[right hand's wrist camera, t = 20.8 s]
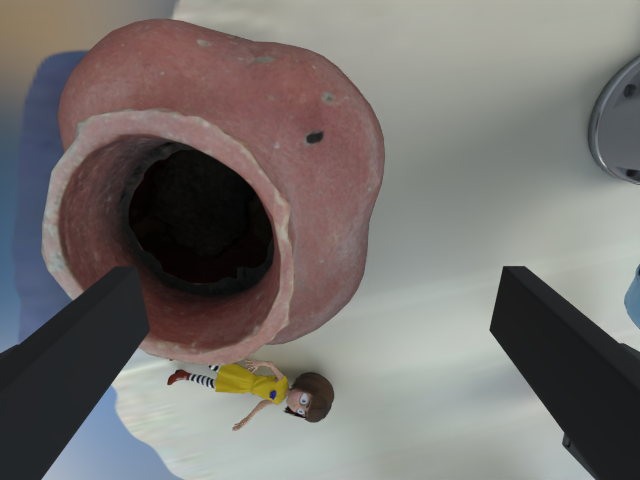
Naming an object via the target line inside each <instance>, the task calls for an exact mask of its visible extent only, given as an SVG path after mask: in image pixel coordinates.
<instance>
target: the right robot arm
mask: <svg viewBox="0 0 640 480" xmlns="http://www.w3.org/2000/svg"><path fill="white" fill-rule="evenodd" d="M589 145H590V149H591V153H592V155H593V157H594V159H595V161H596V163H597V164H598V165H599V166H600V167H601V169H602V170H604V171H605V172H606V173H608V174H609V175H611V176H613V177H616V178H619V179H622V180H626V181H630V182H635V183H640V56H638V57H637V58H635V59H634V60H632V61H631V62H629V63H628V64H627V65H626V66H625V67H623V68H622V69H621V70H620V71H619V72H618V73H617V74H616V75H615V76H614V77H613V78H612V80H611V81H610V82H609V83H608V85H607V86H606V87H605V89H604V90H603V92H602V93H601V95H600V97H599V99H598V101H597V103H596V105H595V107H594V110H593V113H592V116H591V120H590V125H589ZM630 182H629V183H630ZM635 183H633V184H635ZM637 185H640V184H637ZM624 304H625V307H626V309H627V313H628V315H629V317H630V318H631V320H632V321H633V322H634V323H635V325H636V326H637V327H638V328H639V329H640V265H639V266H638V267H637V269H636V276H635V278H634V280H633V282H632V284H631V285H630V287H629V289H628V291H627V293H626V295H625V298H624ZM149 332H150V325H149V321H148V316H147V311H146V307H145V302H144V298H143V293H142V289H141V284H140V279H139V275H138V270H137V266H115V267H114V268H112V269H111V270H110V271H109V272H108V273H106V274H105V275H104V276H103V277H101V278H100V279H99V280H98V281H97V282H95V283H94V284H93V285H92V286H90V287H89V288H88V289H87V290H86V291H84V292H83V293H82V294H81V295H79V296H78V297H77V298H76V299H75V300H73V301H72V302H71V303H70V304H68V305H67V306H66V307H65V308H64V309H62V310H61V311H60V312H59V313H57V314H56V315H55V316H54V317H53V318H51V319H50V320H49V321H48V322H46V323H45V324H44V325H43V326H42V327H40V328H39V329H38V330H37V331H35V332H34V333H33V334H32V335H30V336H29V337H28V338H27V339H26V340H24V341H23V342H22V343H21V344H19V345H15V346H13V347H11V348H9V349H8V350H6V351H4V352H2V353H0V480H41V479H42V478H43V476H44V475H45V474H46V472H47V471H48V470H49V468H50V467H51V466H52V464H53V463H54V461H55V460H56V459H57V457H58V456H59V455H60V453H61V452H62V451H63V449H64V448H65V446H66V445H67V444H68V442H69V441H70V440H71V438H72V437H73V436H74V434H75V433H76V431H77V430H78V429H79V427H80V426H81V425H82V423H83V422H84V421H85V419H86V418H87V416H88V415H89V414H90V412H91V411H92V410H93V408H94V407H95V405H96V404H97V403H98V401H99V400H100V399H101V397H102V396H103V395H104V393H105V392H106V390H107V389H108V388H109V386H110V385H111V384H112V382H113V381H114V380H115V378H116V377H117V375H118V374H119V373H120V371H121V370H122V369H123V367H124V366H125V365H126V363H127V362H128V360H129V359H130V358H131V356H132V355H133V354H134V352H135V351H136V349H137V348H138V347H139V345H140V344H141V343H142V341H143V340H144V339H145V337H146V336H147V334H148V333H149ZM490 332H491V333H492V334H493V336H494V337H495V339H496V340H497V341H498V343H499V344H500V345H501V347H502V348H503V349H504V351H505V352H506V354H507V355H508V356H509V358H510V359H511V360H512V362H513V363H514V365H515V366H516V367H517V369H518V370H519V371H520V373H521V374H522V375H523V377H524V378H525V380H526V381H527V382H528V384H529V385H530V386H531V388H532V389H533V390H534V392H535V393H536V395H537V396H538V397H539V399H540V400H541V401H542V403H543V404H544V406H545V407H546V408H547V410H548V411H549V412H550V414H551V415H552V416H553V418H554V419H555V421H556V422H557V423H558V425H559V426H560V427H561V429H562V430H563V431H564V433H565V434H566V436H567V437H568V438H569V440H570V441H571V442H572V444H573V445H574V446H575V448H576V449H577V451H578V452H579V453H580V455H581V456H582V457H583V459H584V460H585V462H586V463H587V464H588V466H589V467H590V468H591V470H592V471H593V472H594V474H595V475H596V477H597V478H598V479H599V480H640V352H639V351H637V350H635V349H633V348H631V347H630V346H628V345H626V344H624V343H618V342H617V341H616V340H614V339H613V338H612V337H611V336H610V335H608V334H607V333H606V332H605V331H603V330H602V329H601V328H600V327H598V326H597V325H596V324H595V323H594V322H592V321H591V320H590V319H589V318H587V317H586V316H585V315H584V314H583V313H581V312H580V311H579V310H578V309H576V308H575V307H574V306H573V305H572V304H570V303H569V302H568V301H567V300H565V299H564V298H563V297H562V296H561V295H559V294H558V293H557V292H556V291H554V290H553V289H552V288H551V287H550V286H548V285H547V284H546V283H545V282H543V281H542V280H541V279H540V278H539V277H537V276H536V275H535V274H534V273H532V272H531V271H530V270H529V269H528V268H526V267H525V266H503V270H502V275H501V279H500V284H499V289H498V293H497V298H496V302H495V307H494V311H493V316H492V321H491V325H490Z"/></svg>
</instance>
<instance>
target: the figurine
mask: <svg viewBox="0 0 640 480" xmlns="http://www.w3.org/2000/svg"><path fill="white" fill-rule="evenodd" d="M172 360H173V359H170V361H172ZM247 360H251V361H245V362H251V363H249V364H245V366H247V365H252V366H251V367H249V368H247V369H246V368H244V367H242V366H239V365H237V364H234V363H232V364H229V365H222V366H213V365H208V366H209V368H210V369H212V370H214V371H215V372H218V375H217V378H216V380H214V379H211V378H209V377H207V376H203V375H194V374H191V373H187V372H186V371H184V370H176V372H175V374H173V375H171V376H170V377H169V379H168V383H167V385H171V384H172V383H174V382H176V381H178V380H185V381H186V380H191V381H194V382H197V383H200V384H202V385H205V386H207V387H209V388H215V389H216V392H228V393H248V392H252V394H253V395H259V396H260V397H262V398H264V399H266V400H263V401H261V402H260V403H259V404H258V405H257V406H256V408H255V409H254V410H253V411H252V412H251V413H250V414H249V415H248V416H247V417H246V418H244V419H243V420H242V421H241V422H240V423H238V424H235V425H237V426H235V427H233V428H232V429H233V430H235V431H236V430H239V429H240V428H241V427H243V426H244V425H245V424H246V423H247V422H248V421H249V420H250V418H251V417H252V416H253V415H255V414H256V413H257V412H258V411H259V410H261V409H262V408H264V407H265V406H267V405H270V404H276V405H278V404H279V403H281V402H282V401H283V400H284V399H285V397H286V396H289V397H288V398H287V404H288V406H287V408H285V409H286V412H285V410H283V412H285V413H289V414H290V415H291V414H292V415H294V414H295V415H294V416H297V417H301V418H305V419H304V420H307V421H309V422H312V423H313V422H319V421H320V420H321V419H322V418H323V419H324V418H325V417H326V415H327V414H328V413H329V411H330V409H331V405H332V402H333V400H334V390H333V387H332V385H331V384H330V382H329V381H328V380H327V379H326V378H324V377H323V376H321V375H319V374H316V373H304V375H303V374H302V375H301V376H299V377H298V378H297V379H296V381H294V384H293V385H292V386H293V388H292V389H290V388H289V385H288V380H287V378H286V376H285V375H283V374H282V373H281V372H280V371H279V370H278V369H277V368H276V366H275V365H274V364H273V363H272V362H268V361H258V360H252V359H247ZM260 365H262V366H266V367H269V368H270V369H271V370H272V371H273V372H274V373H275V375H276V376H271V375H268V376H262V375H258V376H257V375H254V374H253V372H254V371H255V370H257V369H258V367H259V366H260ZM251 368H254V370H253V371H252V372H251V371H249V369H251ZM299 378H300V379H299Z"/></svg>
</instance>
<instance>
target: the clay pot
mask: <svg viewBox="0 0 640 480" xmlns="http://www.w3.org/2000/svg"><path fill="white" fill-rule="evenodd" d="M57 119H58V124H59V129H60V135H61V140H62V145H63V150H64V155H63V156H62V158H61V159H60V160H59V162H58V163H57V165H56V166H55V167H54V169H53V170H52V172H51V178H50V184H49V190H48V196H47V201H46V207H45V212H44V216H43V220H42V248H41V254H42V256H43V259H44V261H45V264H46V266H47V269H48V271H49V272H50V273H51V274H52V276H53V277H54V278H55V279H56V281H57V282H58V283H59V284H60V286H61V287H62V288H63V289H64V290H65V292H66V293H67V294H68V295H69V297H70V298H71V299H72V300H75V299H76V298H77V297H78V296H79V295H81V294H82V293H83V292H84V291H86V290H87V289H88V288H89V287H90V286H92V285H93V284H94V283H95V282H97V281H98V280H99V279H100V278H101V277H103V276H104V275H105V274H106V273H108V272H109V271H110V270H111V269H112V268H114V267H115V266H137V270H138V275H139V279H140V284H141V289H142V293H143V298H144V302H145V307H146V311H147V316H148V321H149V325H150V332H149V333H148V334H147V336H146V337H145V339H144V340H143V341H142V343H141V344H140V345H139V348H140V349H142V350H143V351H145V352H146V353H147V354H150V355H154V356H158V357H162V358H167V359H173V360H178V361H183V362H188V363H195V364H204V365H213V366H222V365H229V364H232V363H235V362H238V361H241V360H243V359H245V358H247V357H248V356H250V355H252V354H253V353H255V352H256V351H257V350H258V349H259V348H260V347H262V346H263V345H274V344H283V343H287V342H290V341H293V340H296V339H298V338H300V337H302V336H304V335H306V334H308V333H310V332H312V331H315V330H317V329H318V328H319V327H321V326H322V325H323V324H325V323H326V322H327V321H329V320H330V319H331V318H332V317H334V316H335V315H336V314H337V313H338V312H339V311H340V310H341V309H342V308H343V307H344V306H345V305H346V304H347V303H348V302H349V301H350V300H351V298H352V297H353V295H354V294H355V292H356V291H357V289H358V287H359V284H360V282H361V280H362V277H363V275H364V270H365V263H366V256H367V246H368V230H369V221H370V217H371V214H372V211H373V208H374V205H375V202H376V199H377V196H378V193H379V190H380V187H381V184H382V178H383V171H384V160H385V151H384V138H383V134H382V130H381V127H380V124H379V121H378V119H377V117H376V115H375V113H374V111H373V109H372V107H371V105H370V104H369V103H368V101H367V100H366V99H365V98H364V96H363V95H362V94H361V92H360V91H359V89H358V88H357V87H356V86H355V85H354V84H353V83H352V82H351V81H350V79H349V78H348V77H347V76H346V75H345V74H344V73H343V72H342V71H341V70H340V69H339V68H338V67H337V66H336V65H335V64H333V63H332V62H331V61H329V60H328V59H327V58H325V57H324V56H322V55H320V54H317V53H315V52H313V51H310V50H308V49H304V48H300V47H296V46H291V45H286V44H280V43H275V42H254V41H251V40H247V39H244V38H240V37H237V36H233V35H229V34H226V33H222V32H218V31H215V30H211V29H208V28H204V27H200V26H197V25H194V24H191V23H187V22H184V21H178V20H170V19H150V20H144V21H139V22H134V23H132V24H129V25H127V26H124V27H121V28H119V29H117V30H114V31H112V32H110V33H109V34H108V35H107V36H105V37H104V38H103V39H102V40H101V41H99V42H98V43H97V44H96V45H95V46H94V47H93V48H92V49H91V50H90V51H89V52H88V53H87V54H86V55H85V56H84V57H83V59H82V60H81V61H80V62H79V63H78V65H77V66H76V67H75V68H74V70H73V71H72V73H71V74H70V76H69V78H68V80H67V82H66V85H65V87H64V89H63V92H62V94H61V98H60V104H59V111H58V117H57Z"/></svg>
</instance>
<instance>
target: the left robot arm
mask: <svg viewBox="0 0 640 480" xmlns="http://www.w3.org/2000/svg"><path fill="white" fill-rule="evenodd" d="M562 445H563V446H564V447H565V448H566V449H567V450H568V451H569V452H570V453H571V455H572V456H573V457H574V458H575V459H576V460H577V461H578V462H579V463H580V464H581V465H582V466H583V467H584V468H585V469H586V470H587V471H588V472H589V473H590V474H591V475H592V476H593V478H594V479H595V480H599V479H598V478H597V477H596V475H595V474H594V472H593V471H592V470H591V468H590V467H589V466H588V464H587V463H586V462H585V460H584V459H583V457H582V456H581V455H580V453H579V452H578V451H577V449H576V448H575V446H574V445H573V444H572V442H571V441H570V440H569V438H568V437H567V436H566V434H565V433H564V437H563V441H562Z"/></svg>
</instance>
